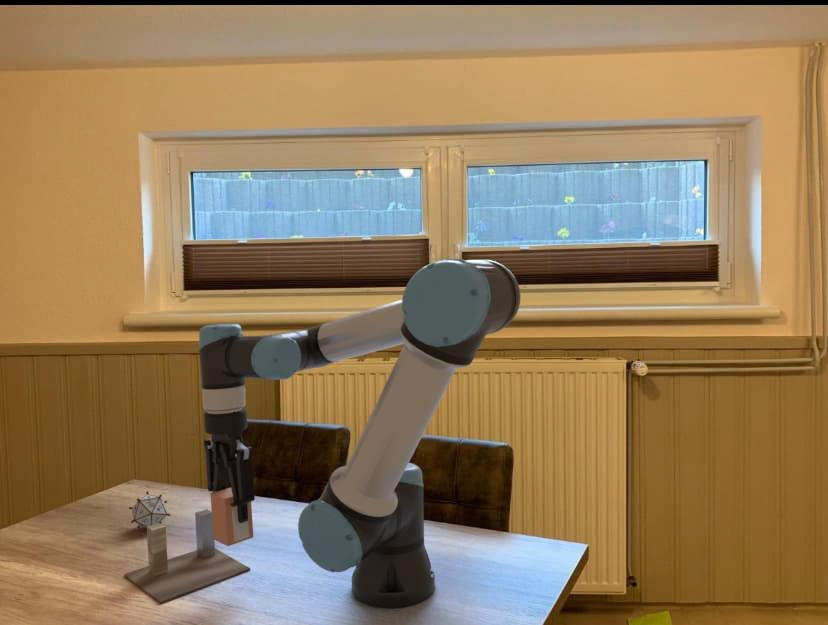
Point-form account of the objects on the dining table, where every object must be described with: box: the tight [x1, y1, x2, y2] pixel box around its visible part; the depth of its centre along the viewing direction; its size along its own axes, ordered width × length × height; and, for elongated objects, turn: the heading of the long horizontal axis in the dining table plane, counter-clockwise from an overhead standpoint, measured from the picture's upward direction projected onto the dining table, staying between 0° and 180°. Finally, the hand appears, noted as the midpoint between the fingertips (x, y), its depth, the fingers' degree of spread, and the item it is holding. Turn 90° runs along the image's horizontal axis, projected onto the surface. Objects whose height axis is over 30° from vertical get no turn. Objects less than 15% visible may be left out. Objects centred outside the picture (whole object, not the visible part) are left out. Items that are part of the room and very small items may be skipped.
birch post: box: [146, 523, 168, 576], centre depth 131 cm, size 3×3×9 cm
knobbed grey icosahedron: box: [128, 490, 171, 529], centre depth 155 cm, size 9×8×10 cm
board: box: [123, 547, 251, 605], centre depth 131 cm, size 16×18×1 cm
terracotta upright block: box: [209, 486, 254, 547], centre depth 124 cm, size 5×5×9 cm
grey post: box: [194, 509, 216, 559], centre depth 138 cm, size 3×3×9 cm
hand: (233, 534), depth 124 cm, fingers closed on terracotta upright block, 5 cm apart
